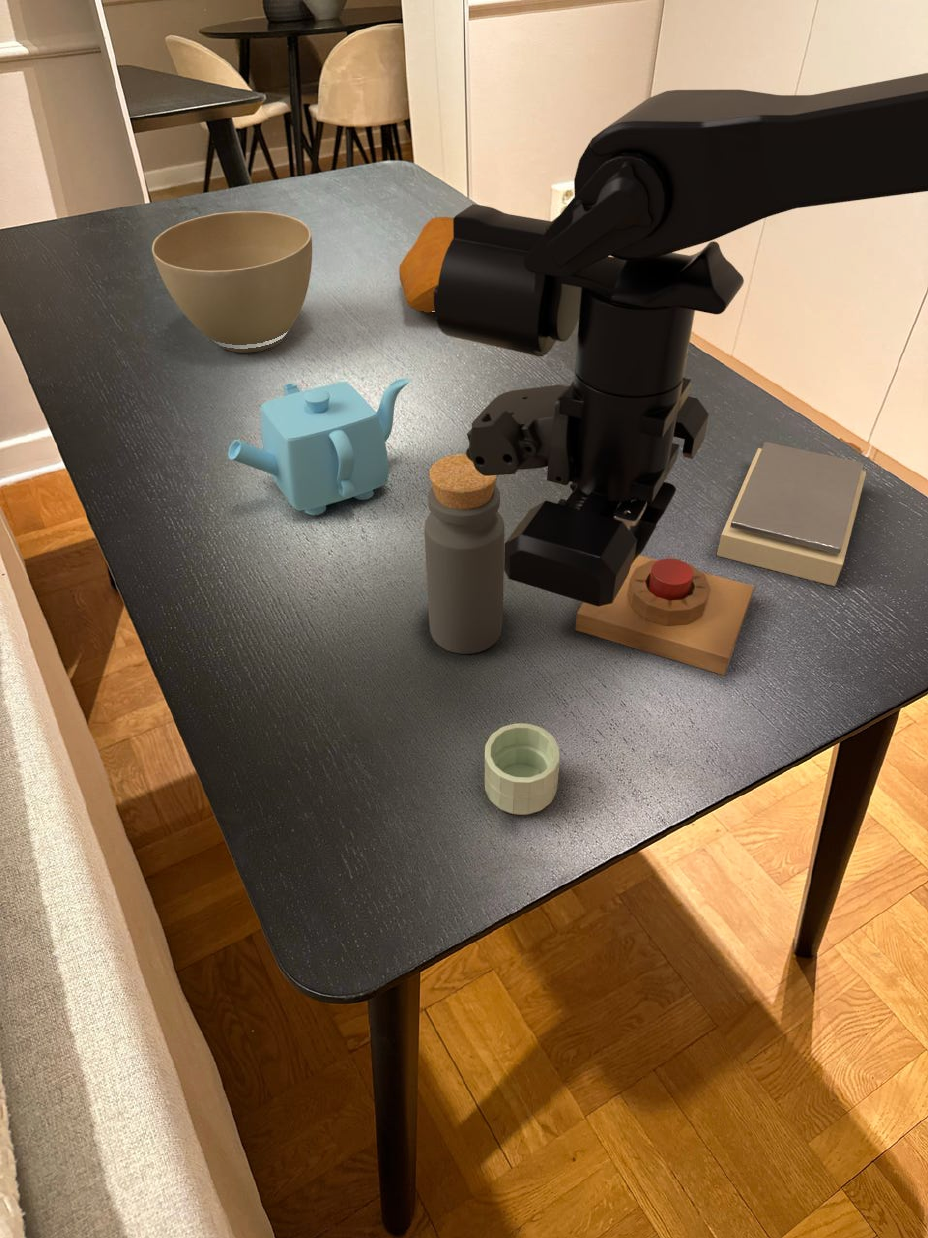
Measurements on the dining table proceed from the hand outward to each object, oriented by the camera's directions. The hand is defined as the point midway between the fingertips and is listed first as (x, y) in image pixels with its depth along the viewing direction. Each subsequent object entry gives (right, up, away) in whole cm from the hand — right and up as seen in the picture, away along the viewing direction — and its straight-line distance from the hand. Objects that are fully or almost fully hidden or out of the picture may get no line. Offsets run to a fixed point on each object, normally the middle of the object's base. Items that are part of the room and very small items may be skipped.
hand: (601, 591), depth 58 cm
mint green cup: (-5, -13, +2) cm, 14 cm away
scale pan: (+21, +9, +21) cm, 31 cm away
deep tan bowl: (-35, +33, +53) cm, 71 cm away
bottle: (-9, -3, +14) cm, 17 cm away
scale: (+21, +7, +23) cm, 32 cm away
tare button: (+7, +1, +12) cm, 14 cm away
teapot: (-22, +11, +29) cm, 38 cm away
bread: (-11, +41, +60) cm, 74 cm away
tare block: (+7, -2, +14) cm, 16 cm away
